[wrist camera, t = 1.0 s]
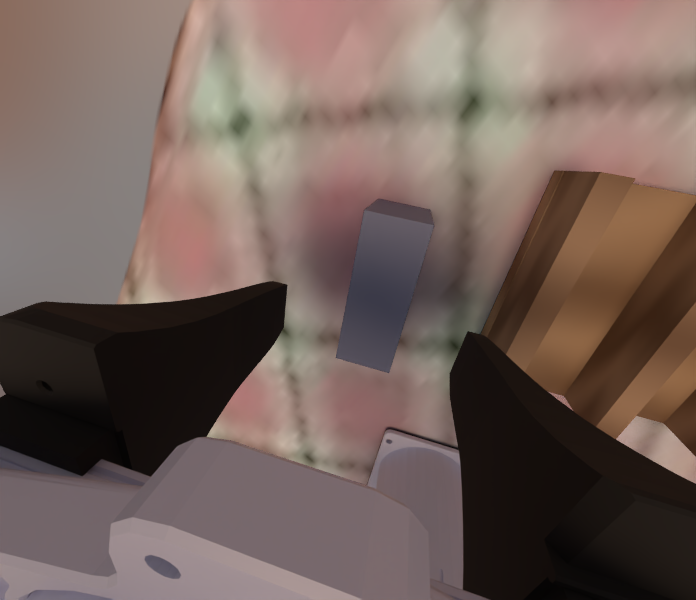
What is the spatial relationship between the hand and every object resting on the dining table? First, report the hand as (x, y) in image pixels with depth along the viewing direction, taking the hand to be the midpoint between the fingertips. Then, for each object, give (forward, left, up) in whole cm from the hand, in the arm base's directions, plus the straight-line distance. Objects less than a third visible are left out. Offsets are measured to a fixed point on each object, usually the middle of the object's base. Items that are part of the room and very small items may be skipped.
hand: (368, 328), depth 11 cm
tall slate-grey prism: (0, 0, -8) cm, 8 cm away
